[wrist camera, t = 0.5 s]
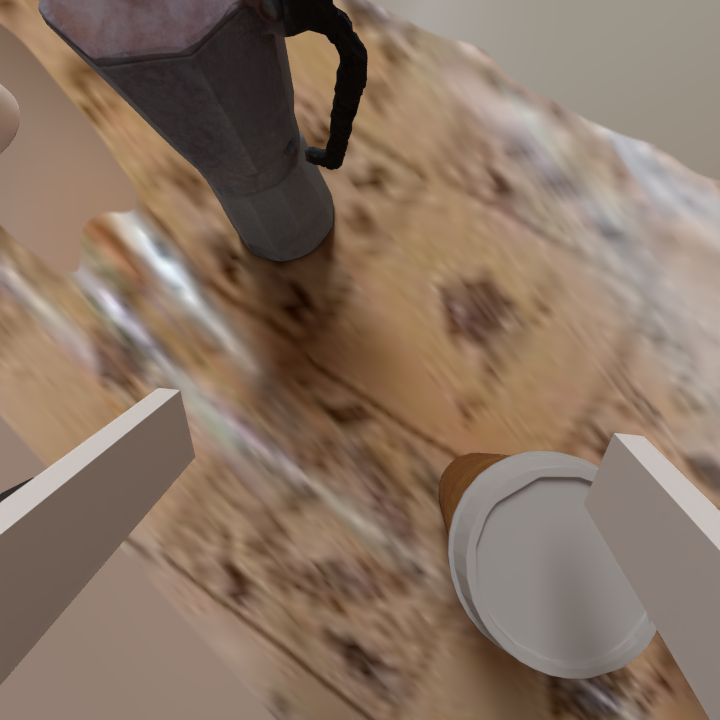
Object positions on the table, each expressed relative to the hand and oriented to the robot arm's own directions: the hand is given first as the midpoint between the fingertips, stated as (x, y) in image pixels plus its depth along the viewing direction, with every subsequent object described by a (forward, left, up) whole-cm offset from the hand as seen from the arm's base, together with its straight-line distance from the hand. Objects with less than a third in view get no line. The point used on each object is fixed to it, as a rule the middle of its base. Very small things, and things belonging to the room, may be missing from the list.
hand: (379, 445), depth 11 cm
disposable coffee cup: (-5, -9, -17) cm, 20 cm away
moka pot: (+17, +9, -17) cm, 26 cm away
